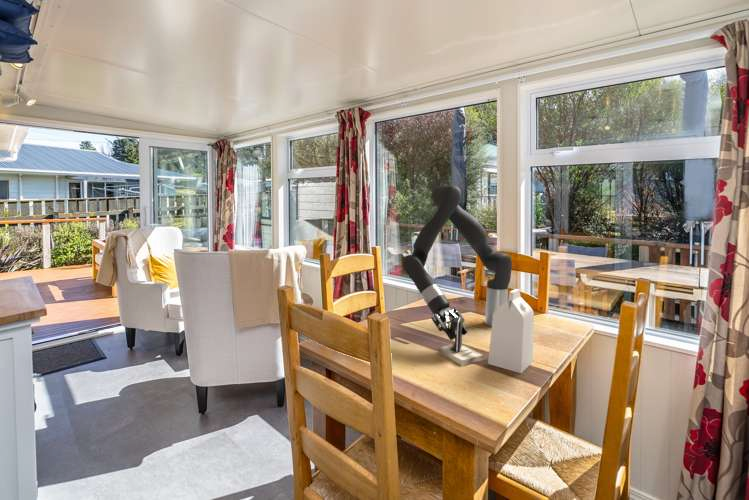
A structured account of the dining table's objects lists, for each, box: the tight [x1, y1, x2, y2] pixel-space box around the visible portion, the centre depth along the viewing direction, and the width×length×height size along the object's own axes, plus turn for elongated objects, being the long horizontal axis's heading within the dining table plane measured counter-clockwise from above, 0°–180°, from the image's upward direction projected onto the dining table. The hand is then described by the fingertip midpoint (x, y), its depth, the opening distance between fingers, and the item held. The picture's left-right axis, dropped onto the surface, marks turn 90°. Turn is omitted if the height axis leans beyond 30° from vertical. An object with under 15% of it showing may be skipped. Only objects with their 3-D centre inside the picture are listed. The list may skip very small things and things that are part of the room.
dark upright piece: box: [449, 317, 464, 352], centre depth 143 cm, size 7×4×11 cm, turn 160°
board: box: [437, 344, 485, 367], centre depth 142 cm, size 10×13×2 cm
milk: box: [487, 288, 535, 374], centre depth 135 cm, size 12×12×26 cm
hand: (459, 336), depth 142 cm, fingers closed on dark upright piece, 7 cm apart
